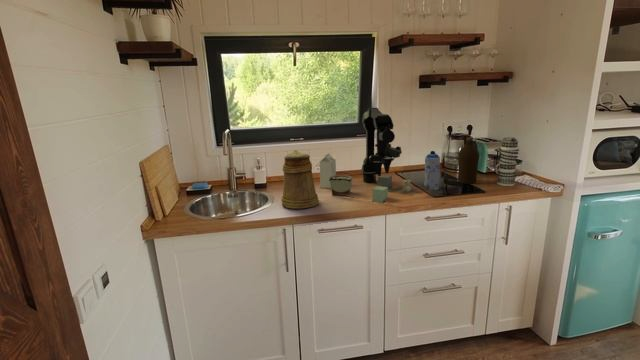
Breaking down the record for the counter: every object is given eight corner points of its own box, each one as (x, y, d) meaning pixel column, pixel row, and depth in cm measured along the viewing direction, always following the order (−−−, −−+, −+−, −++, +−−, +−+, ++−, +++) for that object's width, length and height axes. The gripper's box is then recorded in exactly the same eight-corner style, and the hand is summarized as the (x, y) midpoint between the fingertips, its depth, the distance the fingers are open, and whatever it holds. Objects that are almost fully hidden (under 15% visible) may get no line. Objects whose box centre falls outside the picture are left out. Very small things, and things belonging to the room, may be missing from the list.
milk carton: (320, 187, 197) (319, 154, 192) (325, 184, 203) (323, 152, 198) (332, 188, 194) (331, 155, 189) (336, 185, 200) (335, 152, 196)
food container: (355, 193, 183) (354, 175, 181) (352, 197, 178) (352, 178, 175) (332, 192, 187) (332, 174, 185) (329, 195, 182) (328, 177, 179)
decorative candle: (510, 187, 182) (515, 139, 176) (493, 184, 189) (497, 138, 183) (518, 183, 188) (523, 137, 181) (500, 180, 195) (505, 136, 188)
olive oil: (464, 185, 190) (467, 139, 183) (452, 180, 200) (455, 137, 193) (481, 183, 192) (484, 138, 186) (469, 178, 202) (472, 135, 196)
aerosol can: (426, 185, 193) (427, 149, 188) (440, 186, 188) (442, 150, 183) (421, 188, 187) (423, 152, 182) (436, 190, 182) (438, 153, 177)
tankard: (283, 211, 160) (279, 159, 154) (279, 197, 183) (275, 150, 176) (322, 207, 164) (319, 155, 157) (313, 193, 186) (310, 147, 180)
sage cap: (372, 201, 169) (372, 188, 167) (377, 198, 173) (377, 186, 172) (383, 203, 166) (383, 190, 164) (387, 200, 170) (387, 187, 168)
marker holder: (371, 192, 184) (371, 179, 182) (380, 186, 193) (380, 174, 192) (411, 198, 172) (412, 184, 170) (419, 191, 181) (420, 178, 179)
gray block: (377, 188, 185) (377, 176, 183) (382, 186, 189) (382, 174, 187) (387, 190, 182) (387, 177, 180) (391, 187, 186) (392, 175, 184)
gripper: (391, 143, 152) (392, 178, 154) (406, 140, 167) (406, 172, 170) (368, 143, 158) (369, 177, 160) (384, 140, 173) (385, 171, 176)
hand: (383, 174), depth 166 cm, fingers open, 9 cm apart
